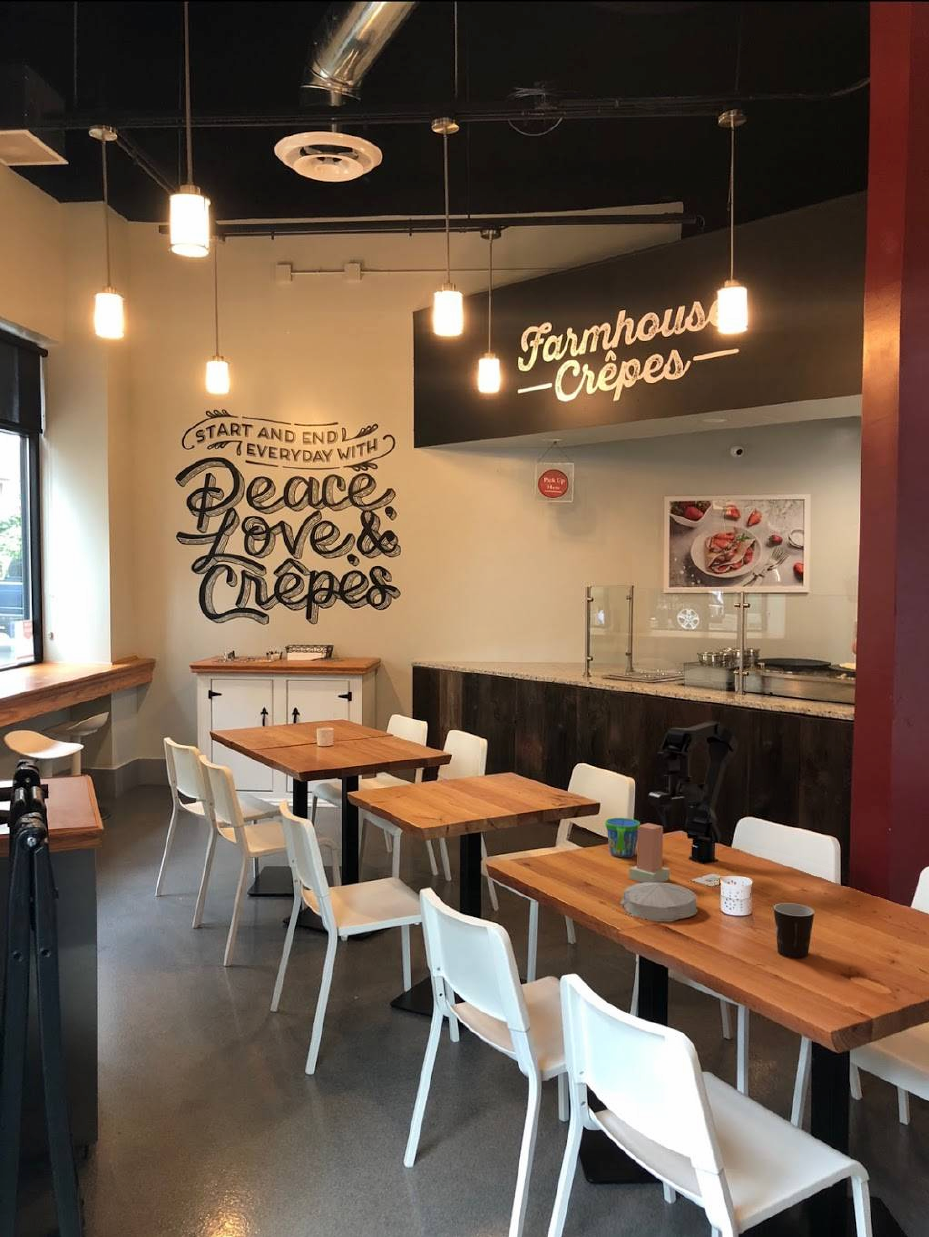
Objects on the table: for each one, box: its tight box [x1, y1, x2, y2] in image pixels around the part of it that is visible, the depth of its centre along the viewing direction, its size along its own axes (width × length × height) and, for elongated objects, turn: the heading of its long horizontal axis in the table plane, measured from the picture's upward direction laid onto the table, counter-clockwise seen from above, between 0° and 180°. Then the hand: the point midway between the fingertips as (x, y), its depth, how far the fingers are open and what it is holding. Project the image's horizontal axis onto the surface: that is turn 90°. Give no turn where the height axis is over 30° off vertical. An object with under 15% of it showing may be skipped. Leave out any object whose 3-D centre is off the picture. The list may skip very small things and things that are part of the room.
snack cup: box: [605, 817, 641, 858], centre depth 294 cm, size 16×10×10 cm
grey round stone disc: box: [620, 882, 699, 923], centre depth 245 cm, size 20×20×7 cm
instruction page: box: [691, 873, 724, 888], centre depth 269 cm, size 10×7×1 cm
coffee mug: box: [773, 902, 815, 960], centre depth 215 cm, size 12×9×10 cm
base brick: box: [628, 865, 671, 883], centre depth 269 cm, size 8×8×3 cm
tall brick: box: [636, 822, 664, 872], centre depth 269 cm, size 5×5×12 cm
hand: (678, 825), depth 278 cm, fingers open, 9 cm apart
